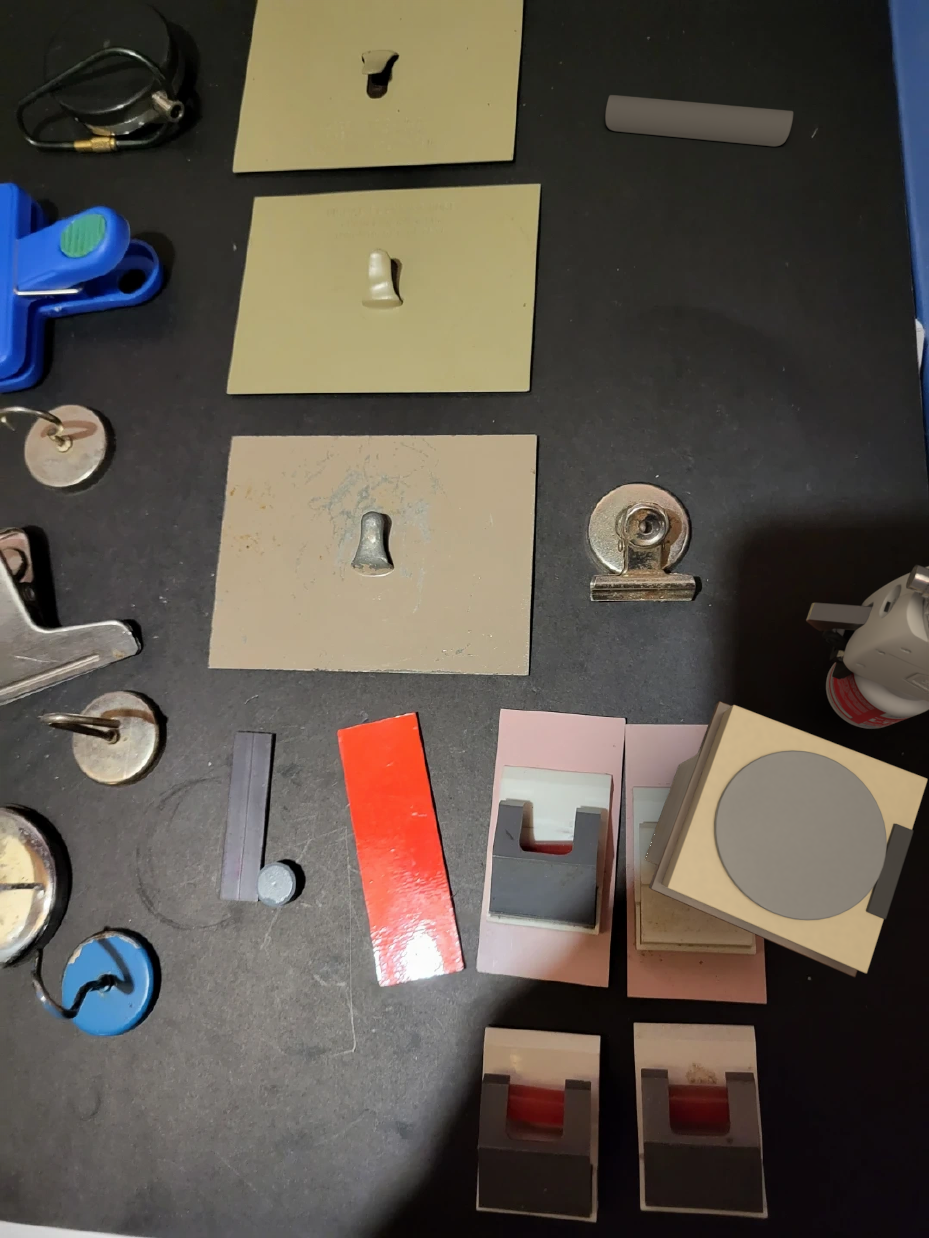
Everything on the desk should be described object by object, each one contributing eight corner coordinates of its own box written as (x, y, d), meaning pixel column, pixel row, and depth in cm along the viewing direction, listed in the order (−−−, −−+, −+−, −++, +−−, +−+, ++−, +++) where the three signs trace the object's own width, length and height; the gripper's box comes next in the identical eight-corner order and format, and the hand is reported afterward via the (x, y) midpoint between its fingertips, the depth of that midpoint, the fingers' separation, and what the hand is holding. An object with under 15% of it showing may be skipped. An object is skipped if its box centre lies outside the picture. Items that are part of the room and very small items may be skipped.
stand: (799, 794, 77) (918, 776, 51) (754, 925, 75) (855, 977, 49) (668, 742, 79) (719, 700, 53) (622, 868, 77) (650, 888, 51)
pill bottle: (850, 743, 66) (901, 725, 56) (808, 672, 68) (849, 641, 57) (924, 707, 66) (989, 682, 56) (880, 637, 68) (935, 600, 57)
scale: (907, 781, 51) (932, 778, 47) (849, 965, 49) (870, 975, 45) (724, 711, 53) (735, 702, 49) (661, 884, 51) (668, 888, 47)
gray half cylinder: (609, 99, 96) (610, 85, 94) (791, 115, 93) (795, 102, 91) (602, 131, 95) (603, 118, 93) (785, 148, 92) (790, 135, 90)
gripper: (818, 621, 45) (754, 680, 63) (1178, 747, 42) (1004, 773, 59) (862, 494, 47) (787, 587, 64) (1215, 606, 43) (1034, 672, 60)
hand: (892, 675), depth 61 cm, fingers closed on pill bottle, 6 cm apart
